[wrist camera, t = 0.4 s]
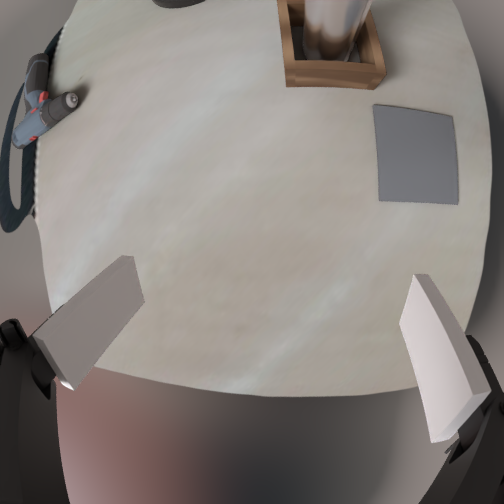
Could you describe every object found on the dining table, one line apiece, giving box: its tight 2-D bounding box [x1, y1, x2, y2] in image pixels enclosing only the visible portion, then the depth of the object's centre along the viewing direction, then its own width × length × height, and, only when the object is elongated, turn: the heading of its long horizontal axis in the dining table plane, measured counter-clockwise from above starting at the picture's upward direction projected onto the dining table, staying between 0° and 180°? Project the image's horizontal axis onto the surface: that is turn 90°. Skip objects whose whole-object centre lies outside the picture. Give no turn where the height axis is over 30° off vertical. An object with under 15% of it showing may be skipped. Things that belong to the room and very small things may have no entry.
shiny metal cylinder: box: [303, 0, 373, 62], centre depth 17 cm, size 6×6×25 cm
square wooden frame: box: [277, 0, 386, 90], centre depth 26 cm, size 12×12×6 cm
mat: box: [373, 105, 458, 205], centre depth 30 cm, size 13×13×1 cm
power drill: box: [11, 53, 78, 149], centre depth 33 cm, size 5×19×20 cm
